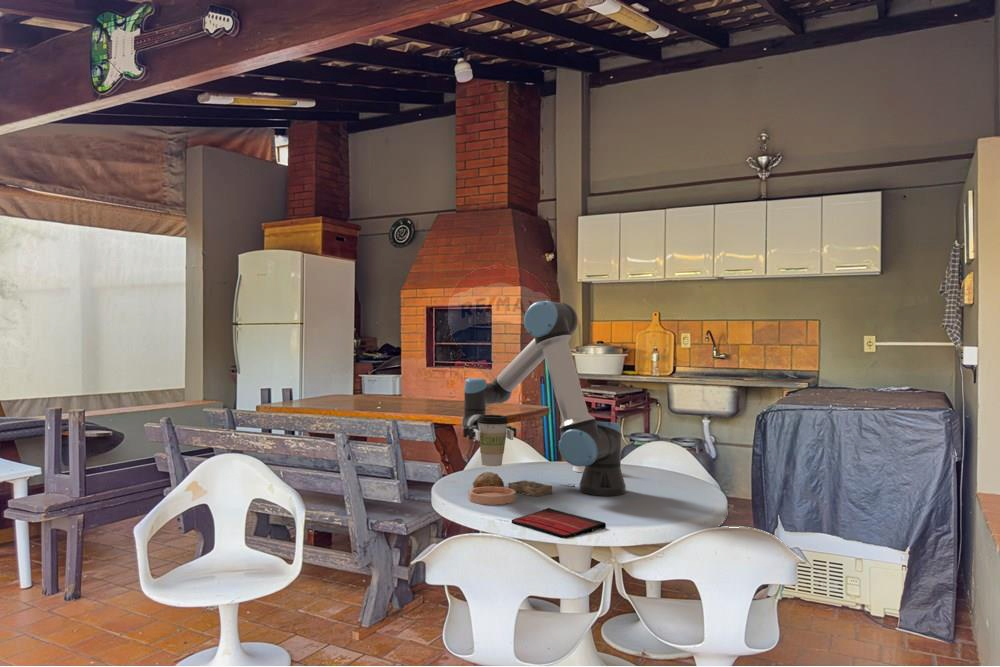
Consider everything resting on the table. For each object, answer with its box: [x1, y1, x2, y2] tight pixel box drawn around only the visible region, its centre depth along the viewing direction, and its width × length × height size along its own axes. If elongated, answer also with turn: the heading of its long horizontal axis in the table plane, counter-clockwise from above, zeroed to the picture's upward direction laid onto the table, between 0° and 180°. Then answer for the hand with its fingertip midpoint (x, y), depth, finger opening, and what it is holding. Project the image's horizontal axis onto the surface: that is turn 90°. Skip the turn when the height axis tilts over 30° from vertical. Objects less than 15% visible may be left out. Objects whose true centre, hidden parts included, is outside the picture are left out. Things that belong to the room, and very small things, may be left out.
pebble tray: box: [508, 479, 553, 497], centre depth 226 cm, size 12×8×3 cm, turn 44°
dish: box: [467, 486, 517, 506], centre depth 215 cm, size 14×14×2 cm
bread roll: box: [472, 471, 505, 488], centre depth 227 cm, size 10×10×8 cm
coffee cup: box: [477, 414, 509, 467], centre depth 215 cm, size 10×10×15 cm
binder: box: [511, 507, 607, 539], centre depth 185 cm, size 16×2×21 cm
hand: (495, 435), depth 211 cm, fingers closed on coffee cup, 10 cm apart
